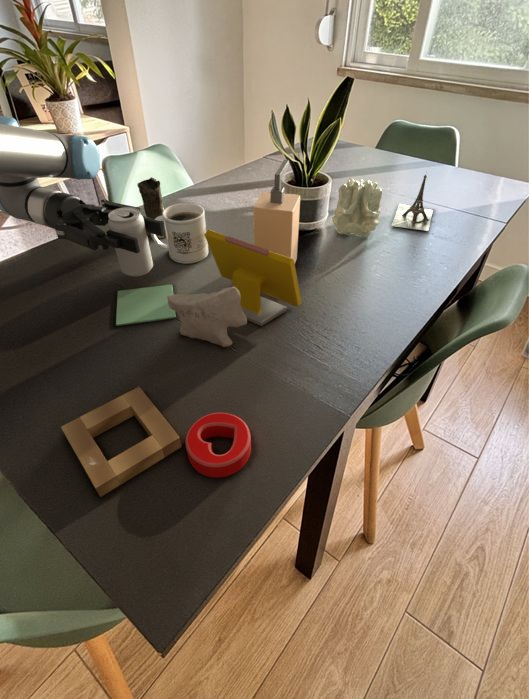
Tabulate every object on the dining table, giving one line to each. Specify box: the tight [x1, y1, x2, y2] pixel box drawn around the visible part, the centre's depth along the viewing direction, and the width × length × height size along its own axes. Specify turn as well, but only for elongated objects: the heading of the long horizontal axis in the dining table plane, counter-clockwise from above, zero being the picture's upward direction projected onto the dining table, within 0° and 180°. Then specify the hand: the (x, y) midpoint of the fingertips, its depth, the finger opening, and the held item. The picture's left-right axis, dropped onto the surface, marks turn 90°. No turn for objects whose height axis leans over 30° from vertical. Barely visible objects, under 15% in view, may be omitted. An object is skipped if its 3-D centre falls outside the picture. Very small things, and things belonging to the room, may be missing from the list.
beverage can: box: [107, 207, 154, 277], centre depth 82 cm, size 6×6×12 cm
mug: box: [150, 202, 209, 264], centre depth 104 cm, size 10×12×11 cm
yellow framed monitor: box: [204, 229, 302, 327], centre depth 86 cm, size 20×8×16 cm, turn 56°
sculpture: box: [167, 286, 248, 348], centre depth 78 cm, size 17×5×15 cm, turn 69°
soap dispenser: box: [252, 159, 301, 264], centre depth 97 cm, size 13×9×22 cm
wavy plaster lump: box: [331, 177, 383, 238], centre depth 114 cm, size 18×13×16 cm
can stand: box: [60, 386, 183, 498], centre depth 65 cm, size 13×13×2 cm
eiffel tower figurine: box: [391, 170, 434, 232], centre depth 117 cm, size 15×10×13 cm
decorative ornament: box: [185, 412, 252, 478], centre depth 64 cm, size 10×10×3 cm
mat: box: [115, 284, 177, 327], centre depth 92 cm, size 12×12×1 cm
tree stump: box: [137, 177, 166, 239], centre depth 112 cm, size 10×10×13 cm
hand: (149, 237), depth 78 cm, fingers closed on beverage can, 6 cm apart
